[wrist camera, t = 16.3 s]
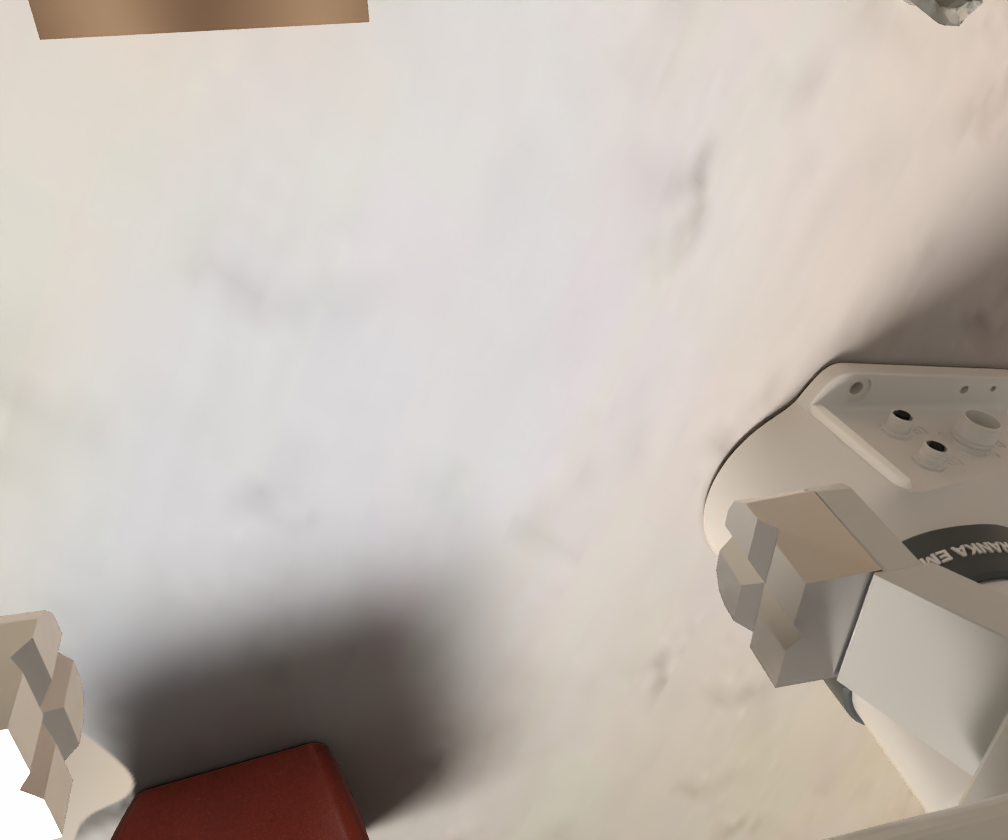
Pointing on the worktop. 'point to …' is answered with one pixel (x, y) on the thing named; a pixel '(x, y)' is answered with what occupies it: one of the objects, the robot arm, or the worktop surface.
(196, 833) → the plant pot
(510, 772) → the worktop surface
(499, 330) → the worktop surface
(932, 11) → the egg carton
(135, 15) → the socket block
